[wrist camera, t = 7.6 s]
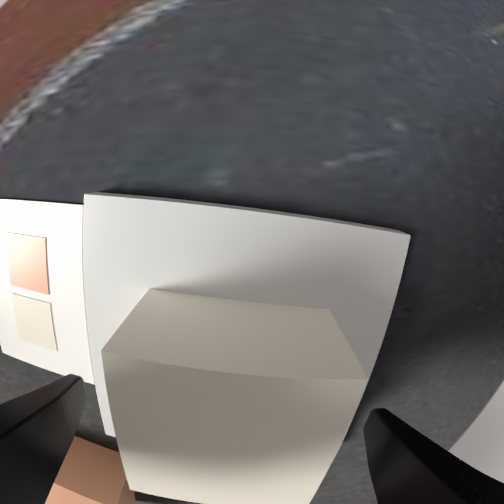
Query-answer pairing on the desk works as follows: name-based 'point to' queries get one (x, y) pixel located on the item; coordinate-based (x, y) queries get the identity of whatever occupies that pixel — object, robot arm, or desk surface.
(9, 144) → the desk surface
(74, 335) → the page
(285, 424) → the brick ivory
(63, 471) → the brick orange
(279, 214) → the baseplate
